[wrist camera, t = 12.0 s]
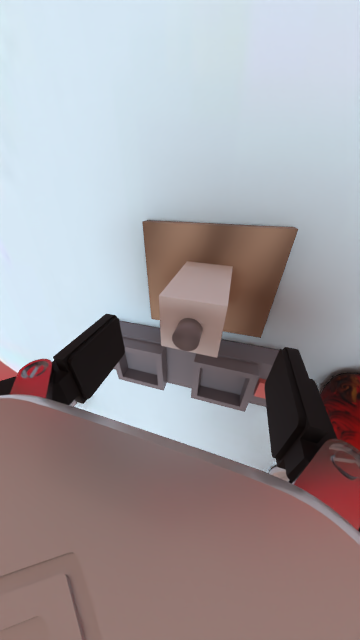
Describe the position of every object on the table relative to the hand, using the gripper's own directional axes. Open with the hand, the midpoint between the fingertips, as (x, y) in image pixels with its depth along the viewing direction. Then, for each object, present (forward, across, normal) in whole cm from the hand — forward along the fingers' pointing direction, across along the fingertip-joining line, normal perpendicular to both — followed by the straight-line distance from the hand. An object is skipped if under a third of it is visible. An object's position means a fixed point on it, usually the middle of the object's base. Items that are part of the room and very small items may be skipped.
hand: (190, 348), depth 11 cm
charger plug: (+8, 0, -1) cm, 8 cm away
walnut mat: (+9, 0, -1) cm, 9 cm away
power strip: (+9, +2, +10) cm, 14 cm away
